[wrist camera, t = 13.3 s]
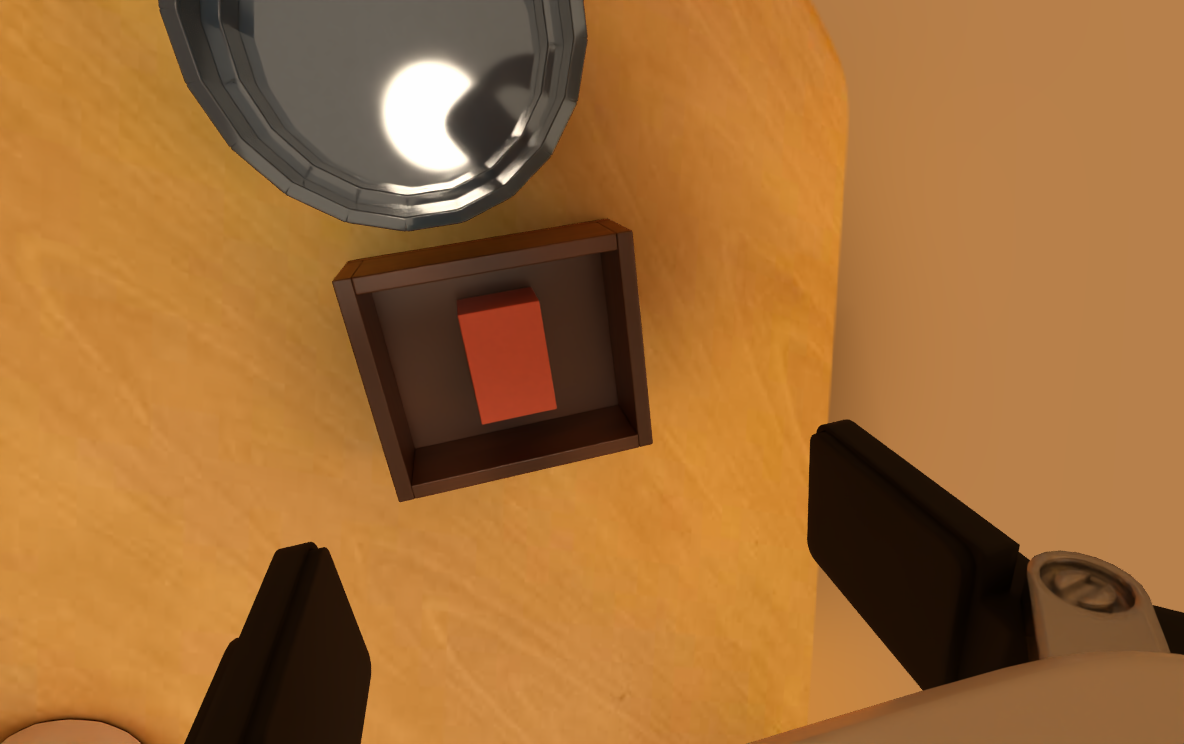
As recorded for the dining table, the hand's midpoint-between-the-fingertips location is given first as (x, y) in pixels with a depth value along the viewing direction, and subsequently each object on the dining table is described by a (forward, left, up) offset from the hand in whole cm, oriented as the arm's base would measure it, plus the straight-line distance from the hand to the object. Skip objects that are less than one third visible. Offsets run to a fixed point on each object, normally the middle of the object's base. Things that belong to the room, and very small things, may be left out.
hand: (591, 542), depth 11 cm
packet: (0, +4, -22) cm, 22 cm away
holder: (0, +4, -23) cm, 23 cm away
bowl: (+2, -11, -23) cm, 25 cm away
